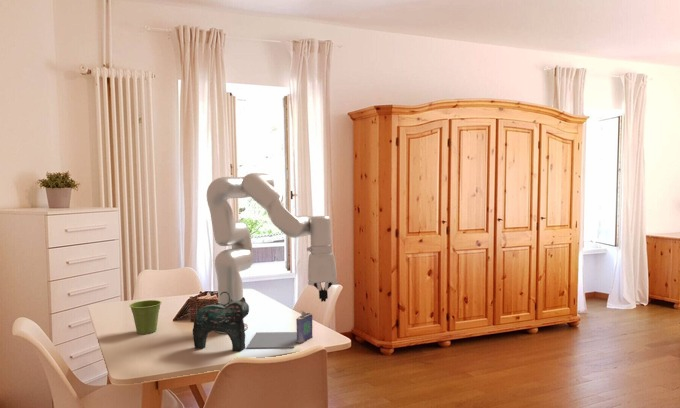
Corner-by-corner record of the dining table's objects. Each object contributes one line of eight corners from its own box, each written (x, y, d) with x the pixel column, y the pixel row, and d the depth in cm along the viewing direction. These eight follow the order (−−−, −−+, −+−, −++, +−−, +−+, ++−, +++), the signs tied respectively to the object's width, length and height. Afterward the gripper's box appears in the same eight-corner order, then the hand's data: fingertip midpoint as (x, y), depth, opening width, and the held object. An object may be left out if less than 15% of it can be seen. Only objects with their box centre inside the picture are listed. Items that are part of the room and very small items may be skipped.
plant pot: (124, 332, 196) (123, 304, 196) (153, 326, 205) (152, 298, 204) (138, 338, 188) (137, 308, 188) (168, 331, 197) (167, 302, 196)
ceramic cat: (251, 347, 174) (249, 290, 174) (243, 353, 168) (241, 294, 167) (199, 344, 179) (197, 289, 178) (189, 350, 173) (188, 292, 172)
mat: (246, 348, 173) (246, 347, 173) (256, 333, 191) (256, 332, 191) (293, 348, 173) (293, 347, 173) (299, 333, 191) (299, 331, 191)
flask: (301, 344, 177) (300, 314, 177) (294, 343, 178) (293, 313, 178) (314, 337, 185) (313, 308, 185) (307, 336, 187) (306, 307, 186)
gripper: (299, 252, 177) (301, 303, 177) (342, 250, 177) (344, 302, 177) (301, 249, 184) (303, 299, 185) (342, 248, 184) (344, 297, 185)
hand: (323, 300), depth 181 cm, fingers closed
